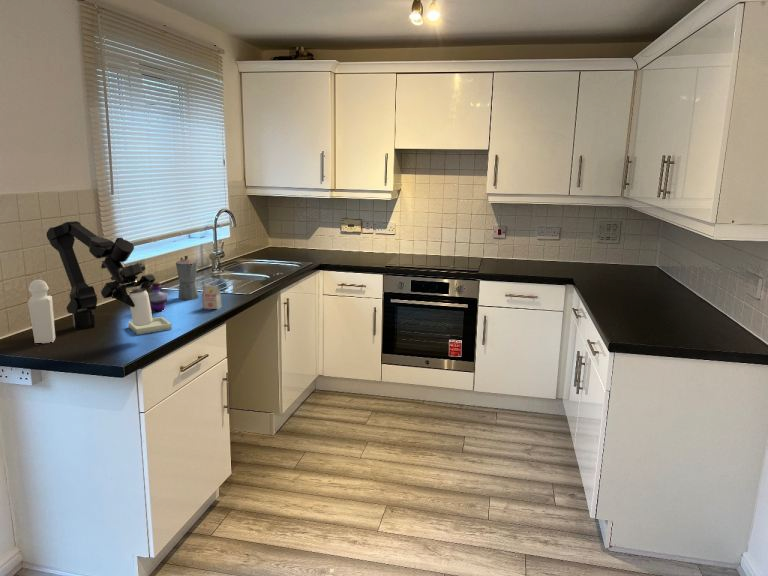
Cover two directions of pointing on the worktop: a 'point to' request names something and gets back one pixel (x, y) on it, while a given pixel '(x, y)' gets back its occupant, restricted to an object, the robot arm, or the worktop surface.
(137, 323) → the can
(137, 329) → the tray
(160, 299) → the potion bottle
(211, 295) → the cream paper food packet
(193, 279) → the moka pot
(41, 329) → the white bottle
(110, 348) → the worktop surface
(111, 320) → the worktop surface
